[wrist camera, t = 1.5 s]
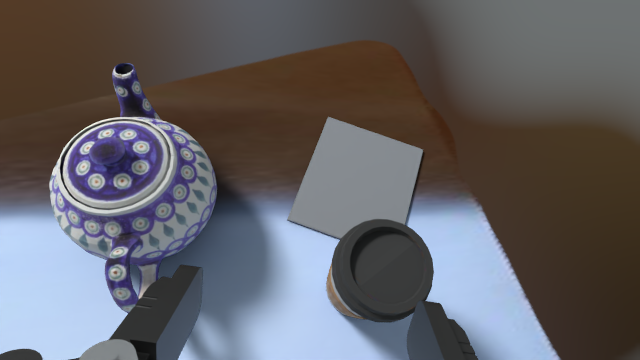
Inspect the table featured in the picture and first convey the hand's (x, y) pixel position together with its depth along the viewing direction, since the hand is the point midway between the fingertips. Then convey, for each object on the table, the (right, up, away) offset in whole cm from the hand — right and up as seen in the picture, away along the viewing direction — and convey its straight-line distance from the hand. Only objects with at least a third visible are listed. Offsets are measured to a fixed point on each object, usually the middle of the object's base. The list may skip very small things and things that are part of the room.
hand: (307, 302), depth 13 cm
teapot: (-19, +1, +30) cm, 35 cm away
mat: (+6, +4, +34) cm, 34 cm away
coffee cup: (+4, -8, +29) cm, 30 cm away
